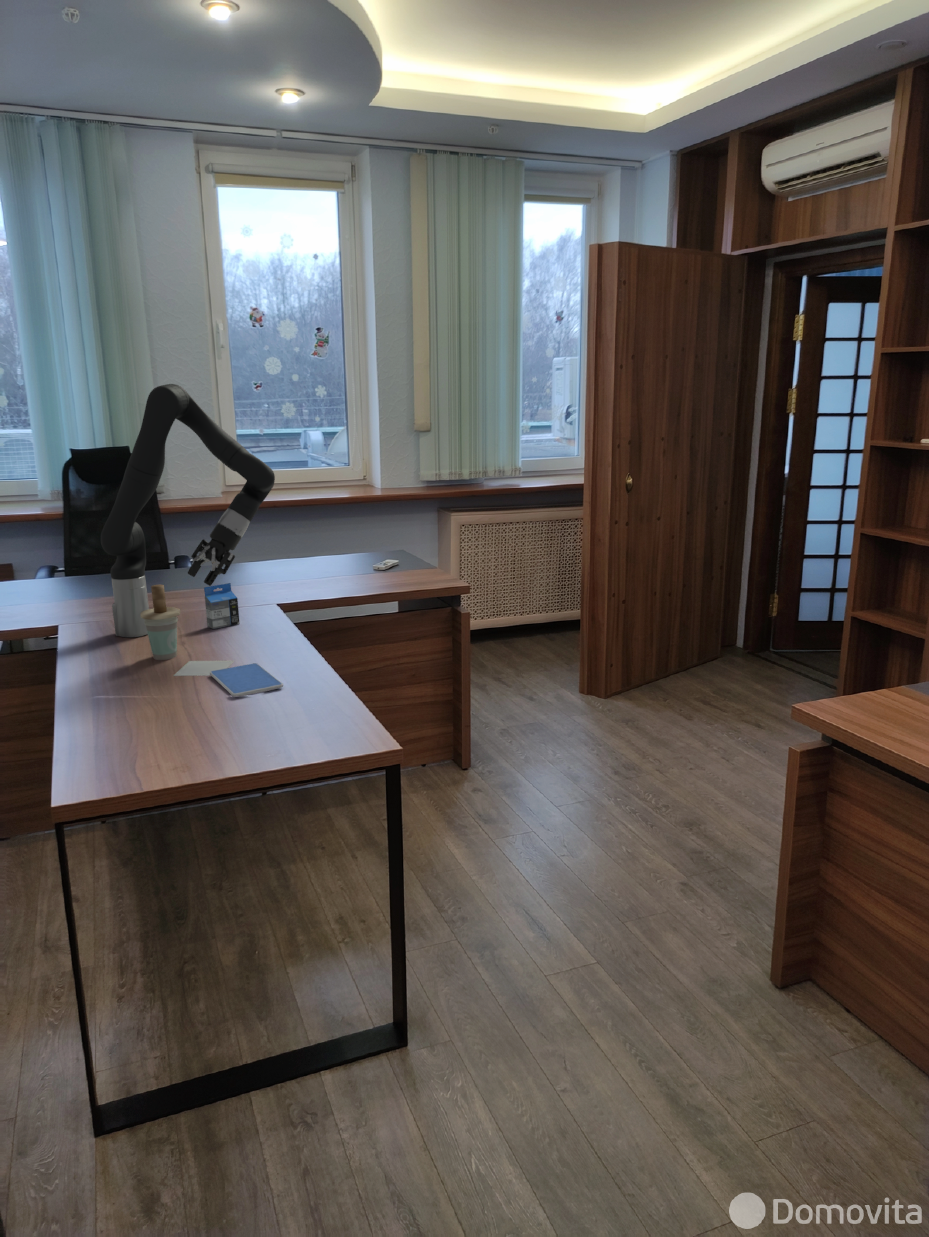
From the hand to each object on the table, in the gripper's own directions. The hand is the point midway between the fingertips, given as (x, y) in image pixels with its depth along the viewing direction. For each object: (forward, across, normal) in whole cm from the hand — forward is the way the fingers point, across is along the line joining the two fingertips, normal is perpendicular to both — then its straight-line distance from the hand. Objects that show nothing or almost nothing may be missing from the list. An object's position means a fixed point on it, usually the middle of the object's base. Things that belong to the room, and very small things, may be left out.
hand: (198, 579), depth 239 cm
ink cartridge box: (+8, -14, +26) cm, 30 cm away
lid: (+13, +1, -5) cm, 14 cm away
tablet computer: (+16, +37, +2) cm, 40 cm away
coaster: (+19, +20, +2) cm, 28 cm away
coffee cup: (+23, +3, +2) cm, 23 cm away
